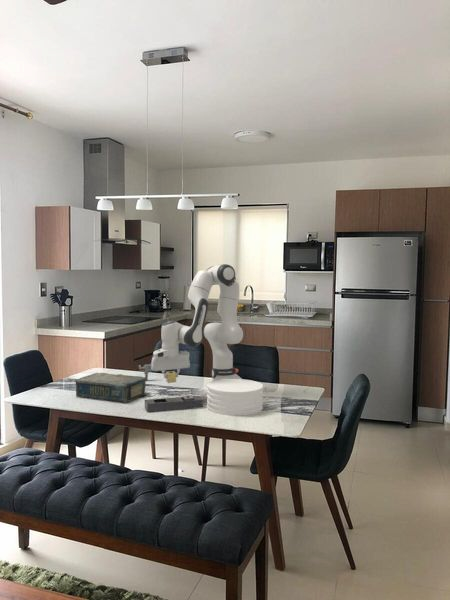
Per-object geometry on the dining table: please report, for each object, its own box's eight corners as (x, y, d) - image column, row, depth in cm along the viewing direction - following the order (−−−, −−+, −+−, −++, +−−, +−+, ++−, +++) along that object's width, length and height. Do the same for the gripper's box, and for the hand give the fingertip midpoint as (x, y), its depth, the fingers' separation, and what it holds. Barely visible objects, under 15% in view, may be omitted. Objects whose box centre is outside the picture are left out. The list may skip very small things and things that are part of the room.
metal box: (125, 404, 249) (125, 385, 248) (73, 397, 261) (73, 379, 260) (147, 394, 268) (147, 376, 268) (98, 388, 280) (98, 371, 280)
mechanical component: (137, 380, 300) (137, 364, 299) (154, 379, 303) (154, 363, 302) (138, 381, 297) (138, 365, 297) (155, 380, 300) (155, 364, 300)
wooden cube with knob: (174, 380, 260) (174, 370, 259) (176, 382, 256) (176, 372, 255) (166, 381, 258) (166, 371, 258) (168, 383, 254) (167, 373, 254)
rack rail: (198, 403, 251) (198, 395, 251) (203, 407, 243) (203, 399, 243) (144, 407, 242) (144, 399, 242) (147, 412, 234) (147, 403, 234)
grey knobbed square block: (190, 405, 248) (190, 395, 247) (192, 407, 244) (193, 397, 243) (182, 405, 246) (182, 395, 246) (184, 408, 242) (184, 397, 242)
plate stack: (230, 397, 264) (230, 376, 264) (273, 406, 247) (273, 384, 246) (195, 408, 243) (195, 385, 242) (239, 419, 225) (240, 395, 224)
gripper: (187, 349, 262) (188, 374, 263) (150, 352, 255) (151, 378, 257) (191, 351, 256) (191, 376, 257) (152, 354, 249) (153, 381, 251)
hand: (171, 377), depth 257 cm, fingers closed on wooden cube with knob, 4 cm apart
